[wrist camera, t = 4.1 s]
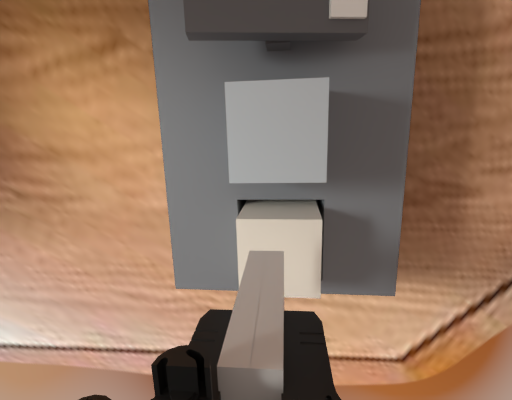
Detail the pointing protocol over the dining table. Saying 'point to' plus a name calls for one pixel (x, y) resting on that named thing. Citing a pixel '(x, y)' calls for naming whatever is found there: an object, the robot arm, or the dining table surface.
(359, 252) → the console
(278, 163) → the button grey
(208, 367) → the robot arm
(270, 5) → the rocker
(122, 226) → the dining table surface
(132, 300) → the dining table surface
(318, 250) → the button cream
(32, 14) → the dining table surface
